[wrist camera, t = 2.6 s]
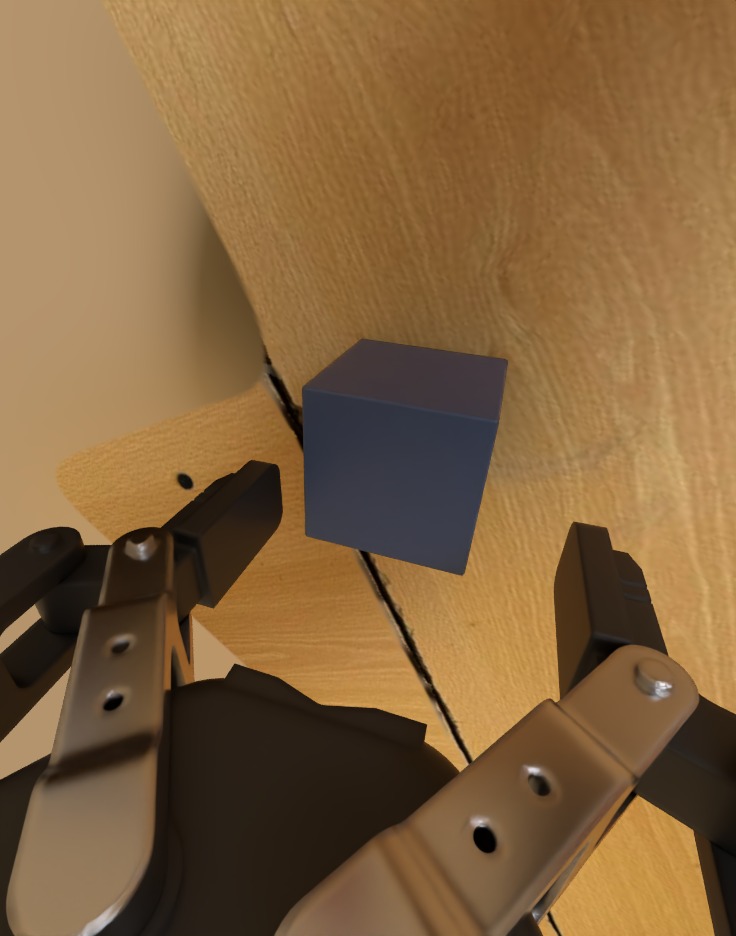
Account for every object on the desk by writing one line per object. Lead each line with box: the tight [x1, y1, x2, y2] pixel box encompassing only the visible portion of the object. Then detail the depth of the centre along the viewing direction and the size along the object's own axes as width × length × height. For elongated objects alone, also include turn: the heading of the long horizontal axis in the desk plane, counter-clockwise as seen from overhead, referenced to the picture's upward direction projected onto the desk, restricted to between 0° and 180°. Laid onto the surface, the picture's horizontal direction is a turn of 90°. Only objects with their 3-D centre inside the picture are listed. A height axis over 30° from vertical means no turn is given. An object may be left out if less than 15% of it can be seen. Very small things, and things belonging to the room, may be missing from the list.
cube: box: [302, 339, 508, 576], centre depth 14 cm, size 5×5×5 cm
